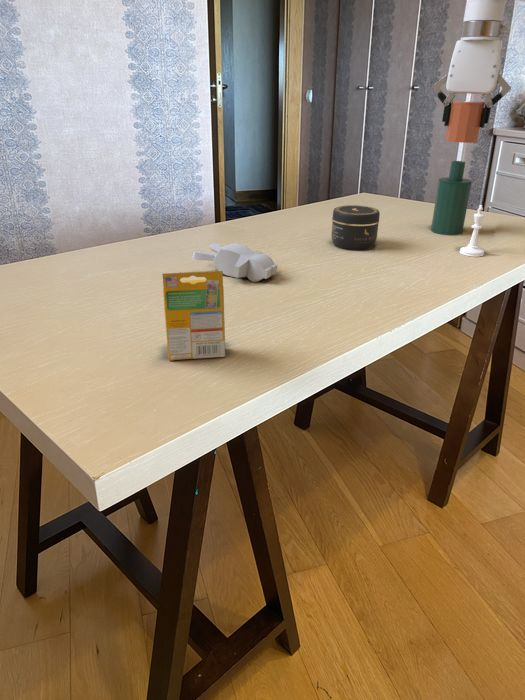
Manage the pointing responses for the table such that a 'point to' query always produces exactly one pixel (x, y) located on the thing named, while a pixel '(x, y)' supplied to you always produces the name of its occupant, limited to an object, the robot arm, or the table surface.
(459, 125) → the terracotta orange cylinder
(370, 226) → the jar
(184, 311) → the crayon box
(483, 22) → the robot arm
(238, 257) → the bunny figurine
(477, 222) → the chess piece
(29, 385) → the table surface
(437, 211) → the bottle
